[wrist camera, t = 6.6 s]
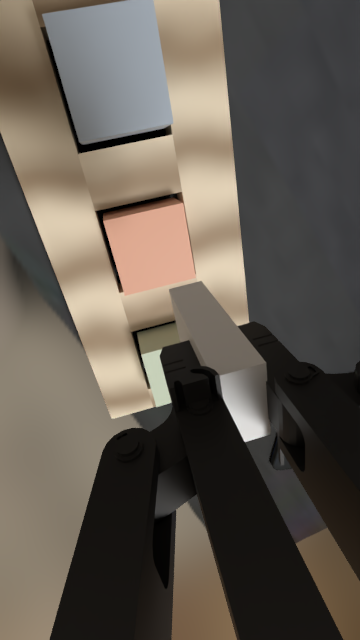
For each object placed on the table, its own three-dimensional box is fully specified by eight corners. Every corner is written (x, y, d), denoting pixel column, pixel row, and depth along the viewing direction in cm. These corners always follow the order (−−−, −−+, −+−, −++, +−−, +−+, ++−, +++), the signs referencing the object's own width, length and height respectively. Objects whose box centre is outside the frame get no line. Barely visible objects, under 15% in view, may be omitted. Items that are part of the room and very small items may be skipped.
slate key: (52, 39, 20) (41, 13, 17) (144, 23, 21) (152, -4, 18) (82, 144, 23) (79, 142, 20) (163, 128, 24) (173, 123, 20)
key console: (-41, 1, 20) (-58, -18, 18) (202, -36, 22) (213, -57, 20) (111, 403, 36) (111, 419, 34) (245, 365, 38) (254, 377, 36)
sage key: (137, 332, 31) (141, 354, 27) (197, 316, 31) (208, 336, 28) (150, 381, 34) (156, 407, 30) (205, 365, 34) (217, 389, 31)
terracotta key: (103, 213, 27) (103, 221, 23) (173, 197, 27) (183, 202, 24) (122, 279, 30) (124, 295, 26) (185, 264, 30) (195, 278, 27)
